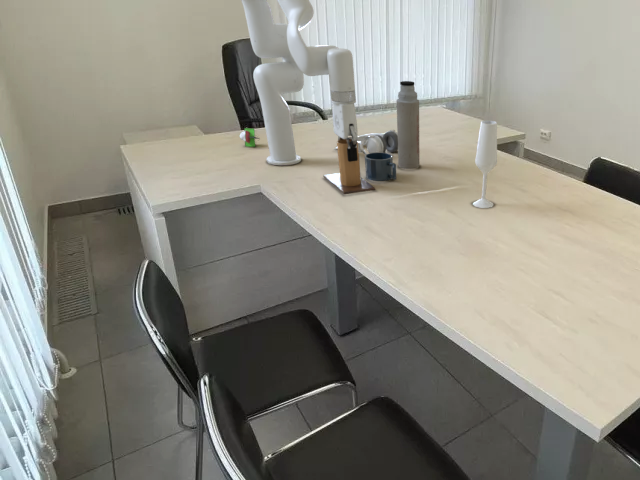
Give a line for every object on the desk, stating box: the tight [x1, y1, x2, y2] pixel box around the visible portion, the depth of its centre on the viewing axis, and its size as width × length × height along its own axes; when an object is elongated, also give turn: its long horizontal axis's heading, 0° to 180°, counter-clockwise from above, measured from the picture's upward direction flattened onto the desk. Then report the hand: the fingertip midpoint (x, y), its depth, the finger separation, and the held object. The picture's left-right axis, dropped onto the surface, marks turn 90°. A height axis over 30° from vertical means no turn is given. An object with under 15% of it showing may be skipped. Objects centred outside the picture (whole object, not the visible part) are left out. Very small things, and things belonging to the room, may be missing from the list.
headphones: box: [333, 129, 398, 156], centre depth 213 cm, size 22×8×22 cm
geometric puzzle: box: [239, 127, 261, 148], centre depth 214 cm, size 7×7×8 cm
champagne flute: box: [472, 120, 498, 209], centre depth 163 cm, size 7×7×24 cm
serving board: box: [322, 172, 376, 195], centre depth 182 cm, size 20×11×1 cm, turn 30°
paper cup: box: [336, 139, 362, 186], centre depth 176 cm, size 7×7×13 cm
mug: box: [364, 152, 398, 182], centre depth 185 cm, size 13×10×8 cm
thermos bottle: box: [396, 80, 421, 170], centre depth 191 cm, size 8×8×28 cm
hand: (348, 157), depth 175 cm, fingers closed on paper cup, 6 cm apart
